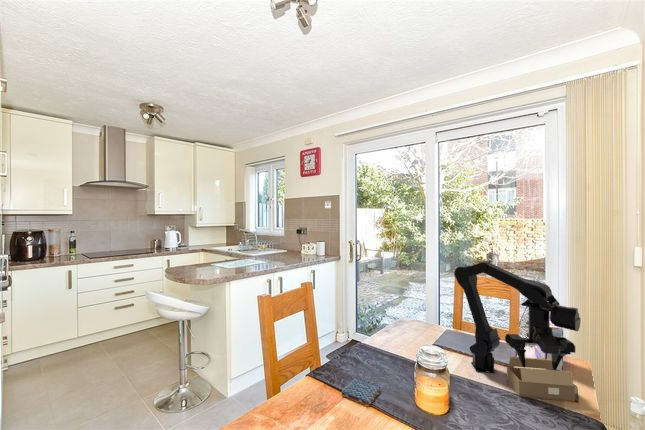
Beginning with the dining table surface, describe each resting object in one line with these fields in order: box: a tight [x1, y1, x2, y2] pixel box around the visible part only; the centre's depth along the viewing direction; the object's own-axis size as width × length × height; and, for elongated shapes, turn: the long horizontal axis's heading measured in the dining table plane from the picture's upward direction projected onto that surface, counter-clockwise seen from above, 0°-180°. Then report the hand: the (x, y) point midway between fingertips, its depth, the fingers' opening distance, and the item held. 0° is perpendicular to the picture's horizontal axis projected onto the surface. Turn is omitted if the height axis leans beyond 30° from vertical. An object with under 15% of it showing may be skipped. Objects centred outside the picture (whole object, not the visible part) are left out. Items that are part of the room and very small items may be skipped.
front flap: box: [519, 367, 575, 386], centre depth 95 cm, size 14×4×1 cm
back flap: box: [508, 356, 554, 370], centre depth 104 cm, size 14×4×1 cm
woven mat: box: [341, 377, 382, 407], centre depth 99 cm, size 10×11×2 cm
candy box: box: [534, 321, 564, 371], centre depth 118 cm, size 14×6×16 cm, turn 159°
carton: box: [506, 366, 576, 403], centre depth 100 cm, size 16×9×5 cm, turn 80°
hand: (538, 368), depth 100 cm, fingers open, 9 cm apart
